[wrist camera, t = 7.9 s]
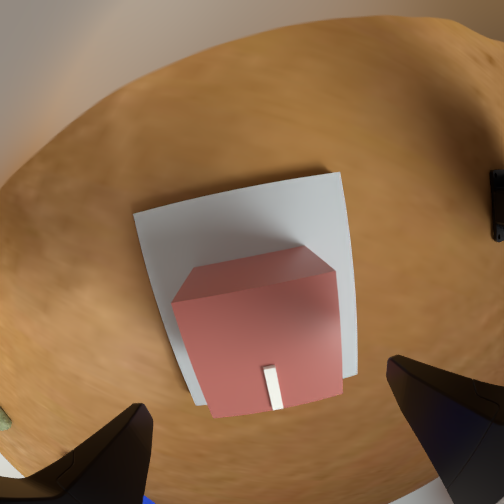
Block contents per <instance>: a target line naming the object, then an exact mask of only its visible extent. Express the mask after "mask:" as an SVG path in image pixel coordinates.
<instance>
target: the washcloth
mask: <svg viewBox="0 0 504 504" xmlns="http://www.w3.org/2000/svg"><path fill="white" fill-rule="evenodd" d="M11 424H12V422H11V420H10V418H9V417H8V416H7V415H6V414H5V412H4V411H3V410H2V409H1V407H0V431H1V430H2V431H3V430H8V429H9V428H10V427H11Z"/></svg>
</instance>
